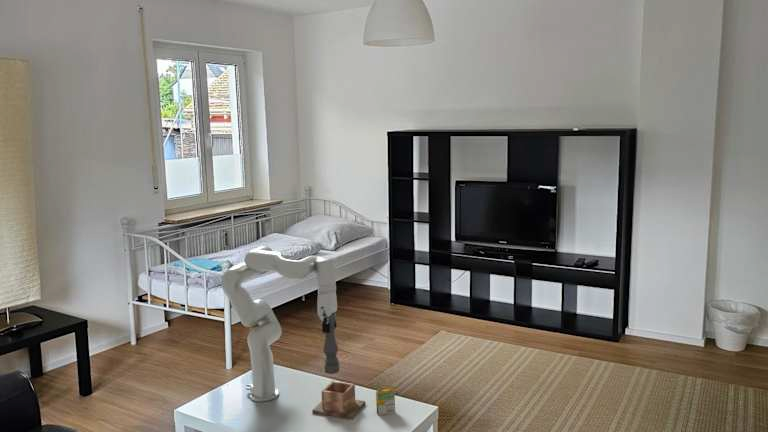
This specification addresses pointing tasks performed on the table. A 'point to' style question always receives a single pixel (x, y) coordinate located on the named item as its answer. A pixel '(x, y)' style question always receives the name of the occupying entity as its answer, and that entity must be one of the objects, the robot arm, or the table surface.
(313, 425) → the table surface
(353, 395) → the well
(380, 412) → the crayon box
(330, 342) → the candle holder
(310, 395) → the table surface
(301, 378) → the table surface
